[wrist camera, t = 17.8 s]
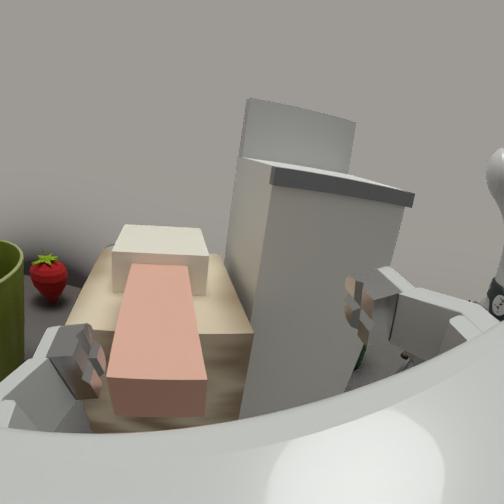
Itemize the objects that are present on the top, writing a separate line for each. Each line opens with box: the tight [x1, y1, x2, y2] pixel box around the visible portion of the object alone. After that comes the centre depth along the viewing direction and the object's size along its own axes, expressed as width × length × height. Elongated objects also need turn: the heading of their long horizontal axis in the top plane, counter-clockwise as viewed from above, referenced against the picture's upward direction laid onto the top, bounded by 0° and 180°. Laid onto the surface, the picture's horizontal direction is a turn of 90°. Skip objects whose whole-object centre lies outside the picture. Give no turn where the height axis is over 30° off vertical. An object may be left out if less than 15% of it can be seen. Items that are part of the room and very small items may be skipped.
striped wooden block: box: [65, 249, 254, 434], centre depth 26 cm, size 12×14×16 cm
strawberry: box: [30, 252, 68, 303], centre depth 42 cm, size 6×8×10 cm
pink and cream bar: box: [106, 224, 209, 418], centre depth 19 cm, size 7×18×3 cm, turn 15°
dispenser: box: [224, 98, 415, 420], centre depth 30 cm, size 12×13×32 cm
